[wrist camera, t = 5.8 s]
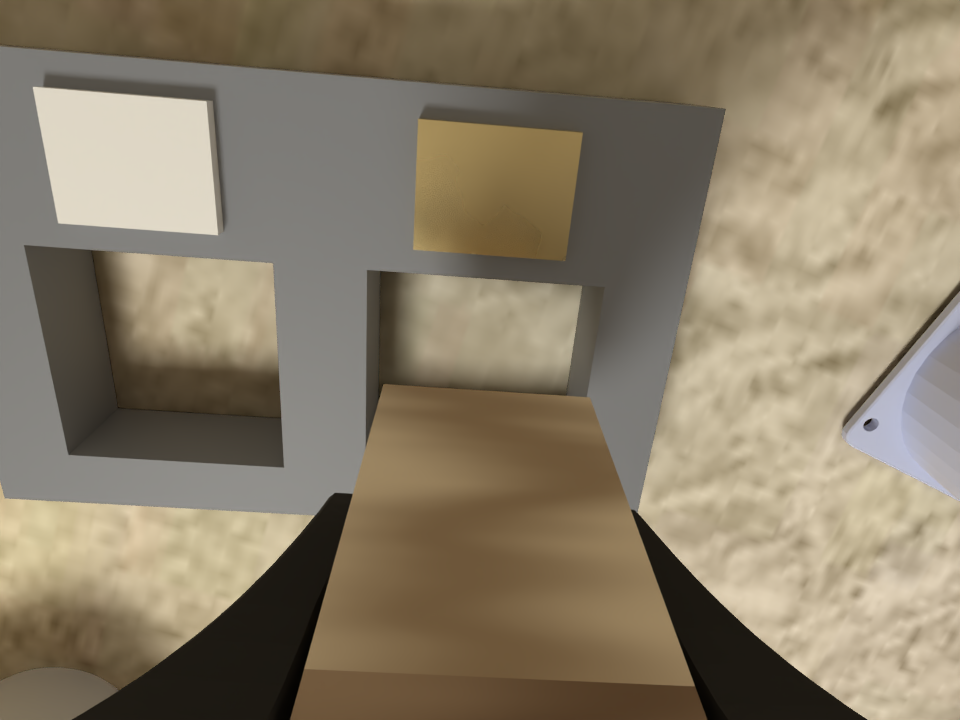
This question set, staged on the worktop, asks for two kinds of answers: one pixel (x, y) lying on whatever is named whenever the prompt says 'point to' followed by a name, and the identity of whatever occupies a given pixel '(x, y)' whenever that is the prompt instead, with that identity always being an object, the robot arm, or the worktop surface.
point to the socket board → (318, 253)
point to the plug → (491, 573)
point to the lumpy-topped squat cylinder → (51, 694)
